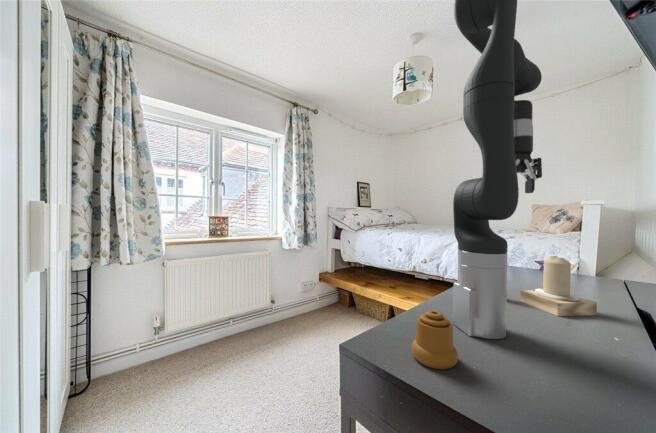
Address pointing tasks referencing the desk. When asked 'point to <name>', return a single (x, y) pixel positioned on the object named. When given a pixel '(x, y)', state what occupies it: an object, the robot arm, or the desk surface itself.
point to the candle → (557, 276)
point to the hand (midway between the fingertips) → (516, 192)
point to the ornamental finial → (434, 341)
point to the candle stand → (558, 303)
